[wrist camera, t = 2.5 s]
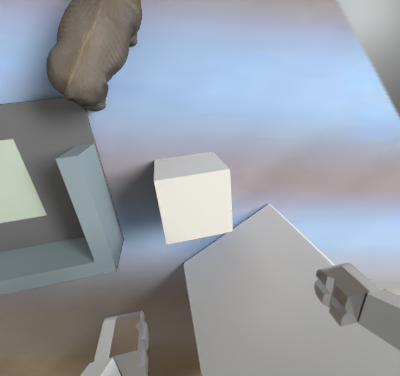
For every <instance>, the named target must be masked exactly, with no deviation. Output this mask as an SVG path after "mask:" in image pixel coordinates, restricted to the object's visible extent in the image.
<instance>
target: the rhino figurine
mask: <svg viewBox="0 0 400 376" xmlns="http://www.w3.org/2000/svg"><path fill="white" fill-rule="evenodd" d="M141 20H142V9H141V1H140V0H72V1H71V3H70V4H69V6H68V8H67V9H66V10H65V12H64V15H63V17H62V19H61V22H60V25H59V29H58V35H57V44H56V45H55V46H54V48H53V49H52V50H51V52H50V53H49V56H48V58H47V75H48V79H49V81H50V83H51V84H52V85H53V86H54V88H55V89H56V90H57V91H59V92H60V93H62V94H64V96H65V99H67V100H70V101H73V102H75V103H77V104H78V105H80V106H81V107H85V109H87V110H88V109H91V110H94V111H98V110H102V109H103V108H105V106H106V104H105V101H106V97H107V92H108V85H107V82H108V81H109V80H110V79H111V78H112V76H113V75H114V74H116V73H117V72H118V71H119V70H120V69H121V68H122V67H123V65H124V64H125V62H126V59H127V56H128V52H129V46H130V45H132V46H133V45H136V44H137V32H138V30H139V28H140V25H141Z"/></svg>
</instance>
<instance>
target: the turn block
mask: <svg viewBox="0 0 400 376" xmlns="http://www.w3.org/2000/svg"><path fill="white" fill-rule="evenodd" d="M154 184H155V189H156V194H157V199H158V204H159V209H160V214H161V219H162V224H163V229H164V234H165V239H166V244H172V243H178V242H183V241H188V240H193V239H198V238H203V237H208V236H213V235H218V234H223V233H228V232H233V224H232V203H231V182H230V169H229V168H228V167H227V166H226V165H225V164H224V163H223V162H222V161H221V160H220V159H219V158H218V157H217V156H216V155H215V154H214V153H213V152H206V153H200V154H193V155H186V156H179V157H173V158H166V159H159V160H154Z"/></svg>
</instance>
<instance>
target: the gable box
mask: <svg viewBox="0 0 400 376" xmlns="http://www.w3.org/2000/svg"><path fill="white" fill-rule="evenodd" d="M183 266H184V273H185V279H186V285H187V291H188V297H189V303H190V309H191V315H192V321H193V328H194V334H195V340H196V346H197V352H198V358H199V364H200V370H201V376H400V351H399V350H398V349H396V348H395V347H393V346H392V345H390V344H389V343H387V342H386V341H384V340H383V339H381V338H380V337H378V336H376V335H375V334H373V333H372V332H370V331H369V330H367V329H366V328H364V327H363V326H361V325H360V324H358V323H353V324H349V325H345V326H339V324H338V323H337V322H336V321H335V319H334V318H333V317H332V316H331V314H330V313H329V307H327V306H325V305H324V304H322V303H321V302H320V300H319V299H318V297H317V295H316V293H315V289H314V284H315V282H316V280H317V279H318V278H317V276H316V272H317V271H318V269H322V268H327V267H331V266H335V265H334V264H333V263H332V262H331V261H330V260H329V259H328V258H327V257H326V256H325V255H324V254H323V253H322V252H321V251H320V250H318V249H317V248H316V247H315V246H314V245H313V244H312V243H311V242H310V241H309V240H308V239H307V238H306V237H305V236H304V235H303V234H302V233H300V232H299V231H298V230H297V229H296V228H295V227H294V226H293V225H292V224H291V223H290V222H289V221H288V220H287V219H286V218H285V217H283V216H282V215H281V214H280V213H279V212H278V211H277V210H276V209H275V208H274V207H273V206H272V205H271V204H268V205H267V206H265V207H264V208H262V209H261V210H259V211H258V212H256V213H255V214H254V215H252V216H251V217H249V218H248V219H246V220H245V221H243V222H242V223H241V224H239V225H238V226H236V227H235V228H233V232H228V233H226V234H225V235H223V236H222V237H220V238H219V239H217V240H216V241H215V242H213V243H212V244H210V245H209V246H207V247H206V248H204V249H203V250H202V251H200V252H199V253H197V254H196V255H194V256H193V257H192V258H190V259H189V260H187V261H186V262H184V265H183Z"/></svg>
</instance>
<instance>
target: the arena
mask: <svg viewBox="0 0 400 376" xmlns="http://www.w3.org/2000/svg"><path fill="white" fill-rule="evenodd" d="M123 241H124V238H123V235H122V231H121V228H120V225H119V221H118V218H117V214H116V211H115V208H114V204H113V201H112V198H111V194H110V191H109V187H108V184H107V181H106V177H105V174H104V171H103V167H102V164H101V160H100V157H99V154H98V150H97V147H96V144H95V140H94V137H93V133H92V130H91V127H90V123H89V120H88V117H87V113H86V110H85V107H81V106H80V105H78V104H77V103H75V102H73V101H70V100H67V99H65V97H64V98H54V99H45V100H35V101H26V102H16V103H7V104H0V296H2V295H7V294H11V293H16V292H21V291H26V290H30V289H35V288H40V287H45V286H50V285H54V284H59V283H64V282H69V281H73V280H78V279H83V278H88V277H93V276H97V275H102V274H107V273H112V272H116V271H117V268H118V263H119V259H120V254H121V250H122V245H123Z"/></svg>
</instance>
